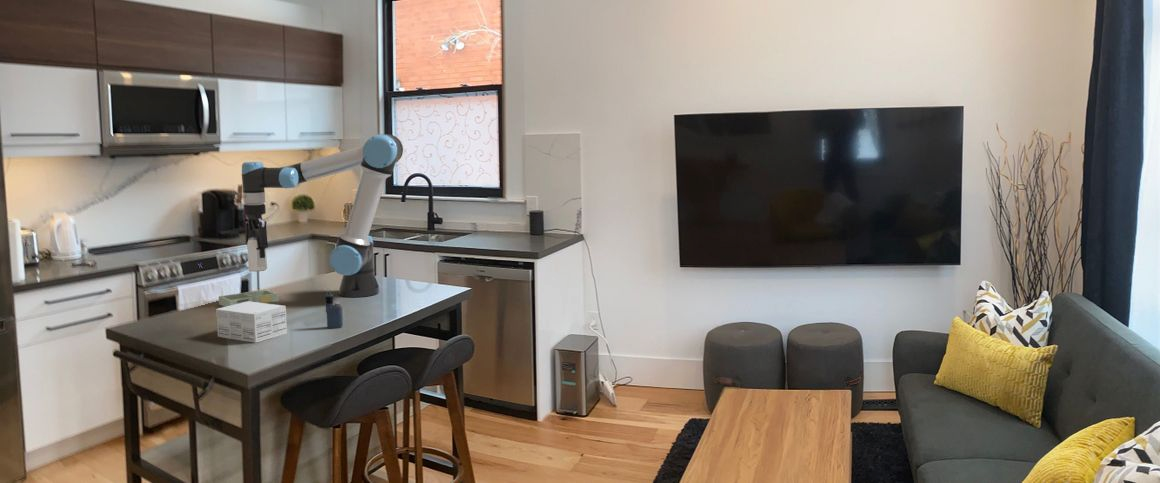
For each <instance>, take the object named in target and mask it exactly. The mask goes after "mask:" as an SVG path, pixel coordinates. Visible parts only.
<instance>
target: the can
mask: <svg viewBox="0 0 1160 483" xmlns="http://www.w3.org/2000/svg"><path fill="white" fill-rule="evenodd" d="M246 246H247V265H248V271H250V272H264V271H266V270H267V269H268V261H267V248H266V249H265V260H266V266H262V267H258V261H257V250H256V248H258V245H257V240H256V237H255V238H249V239H248V242H247V244H246Z"/></svg>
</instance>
